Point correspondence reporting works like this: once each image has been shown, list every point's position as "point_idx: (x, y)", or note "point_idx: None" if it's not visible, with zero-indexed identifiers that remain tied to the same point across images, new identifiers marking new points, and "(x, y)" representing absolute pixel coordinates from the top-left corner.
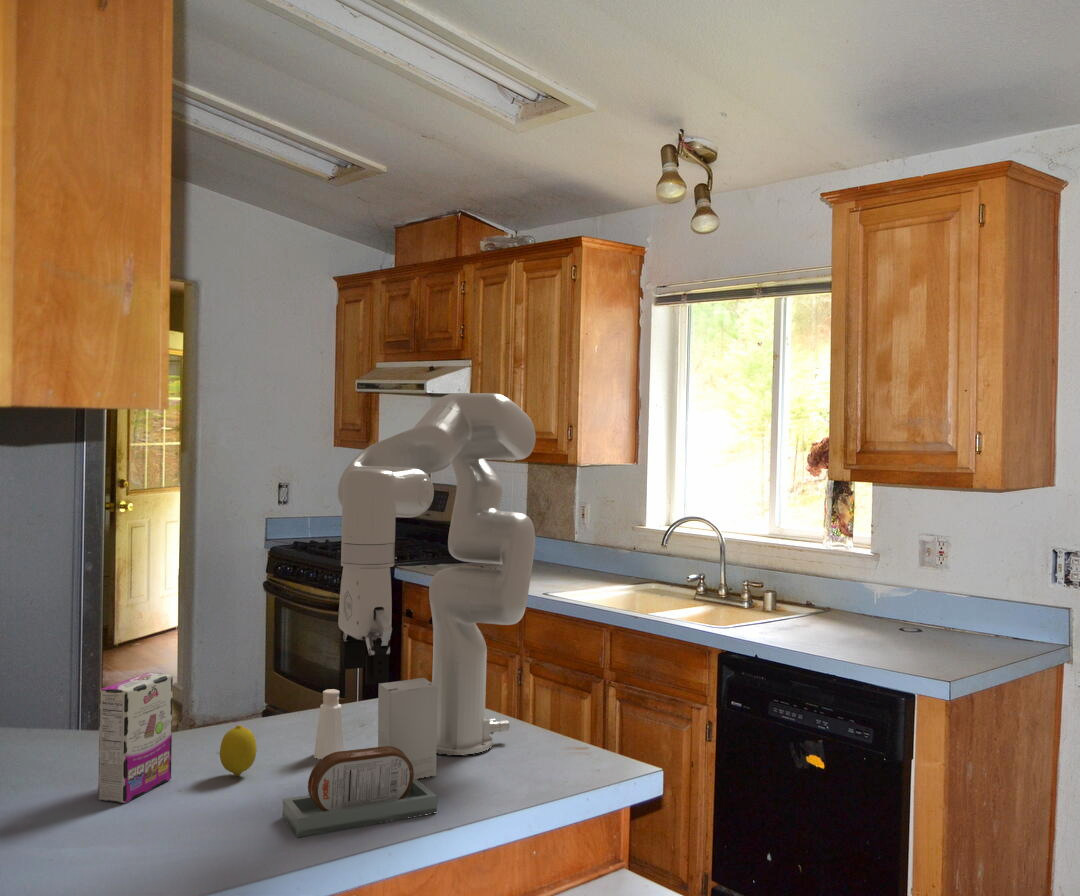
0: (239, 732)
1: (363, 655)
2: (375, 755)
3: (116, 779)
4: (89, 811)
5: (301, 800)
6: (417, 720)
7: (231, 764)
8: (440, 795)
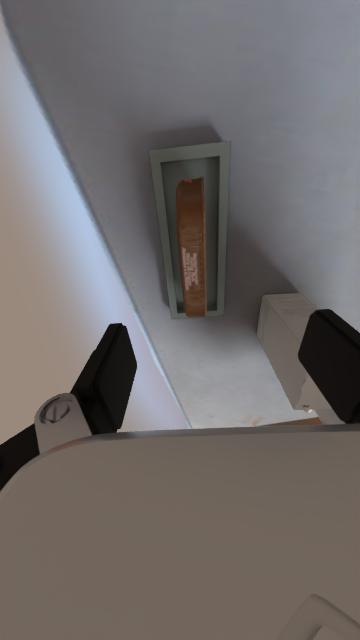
0: None
1: (315, 379)
2: (182, 281)
3: None
4: None
5: (219, 172)
6: (280, 357)
7: None
8: (212, 325)
